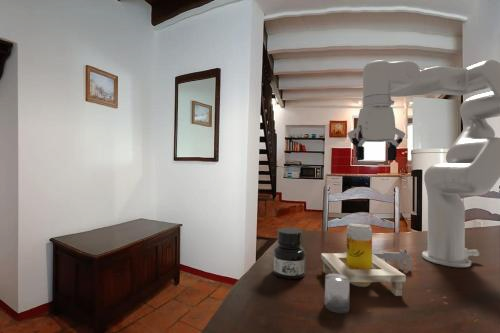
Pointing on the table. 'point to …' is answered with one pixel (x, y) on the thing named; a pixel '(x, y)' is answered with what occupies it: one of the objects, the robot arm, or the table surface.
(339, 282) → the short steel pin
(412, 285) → the table surface
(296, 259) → the ink bottle
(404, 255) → the caliper
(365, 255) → the beer can
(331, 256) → the birch stand
